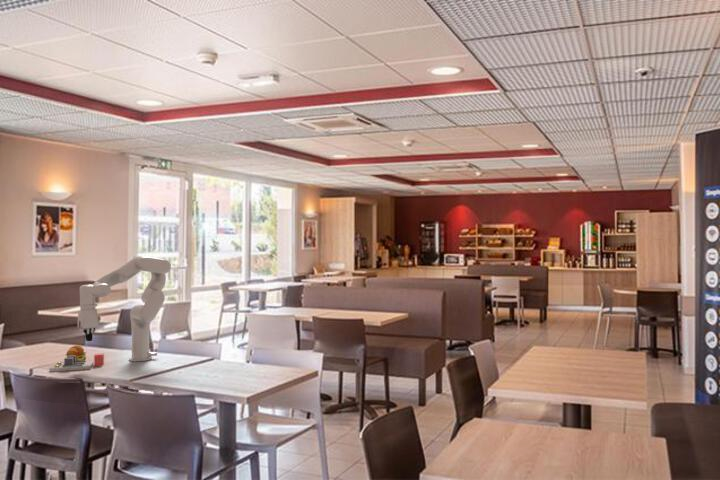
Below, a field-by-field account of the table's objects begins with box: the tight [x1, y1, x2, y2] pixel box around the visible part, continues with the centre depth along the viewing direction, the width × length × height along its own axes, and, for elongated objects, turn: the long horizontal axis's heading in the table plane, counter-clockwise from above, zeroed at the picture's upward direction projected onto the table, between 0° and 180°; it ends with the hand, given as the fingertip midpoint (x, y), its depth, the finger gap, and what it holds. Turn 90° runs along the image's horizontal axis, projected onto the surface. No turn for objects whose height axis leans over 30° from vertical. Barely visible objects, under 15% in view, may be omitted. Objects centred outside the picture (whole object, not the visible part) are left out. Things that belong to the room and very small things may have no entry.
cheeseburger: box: [65, 345, 87, 361], centre depth 350 cm, size 10×11×10 cm
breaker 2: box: [66, 355, 76, 363], centre depth 334 cm, size 4×3×4 cm
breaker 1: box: [63, 357, 74, 365], centre depth 329 cm, size 4×3×4 cm
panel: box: [49, 359, 94, 373], centre depth 332 cm, size 20×12×3 cm, turn 106°
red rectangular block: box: [93, 352, 105, 367], centre depth 340 cm, size 4×4×6 cm
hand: (89, 340), depth 334 cm, fingers closed
